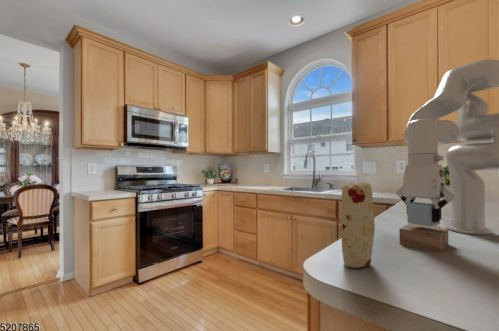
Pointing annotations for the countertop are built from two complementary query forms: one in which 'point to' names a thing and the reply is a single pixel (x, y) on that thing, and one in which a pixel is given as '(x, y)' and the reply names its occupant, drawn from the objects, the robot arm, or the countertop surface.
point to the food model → (357, 224)
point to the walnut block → (424, 237)
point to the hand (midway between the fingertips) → (423, 219)
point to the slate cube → (420, 213)
